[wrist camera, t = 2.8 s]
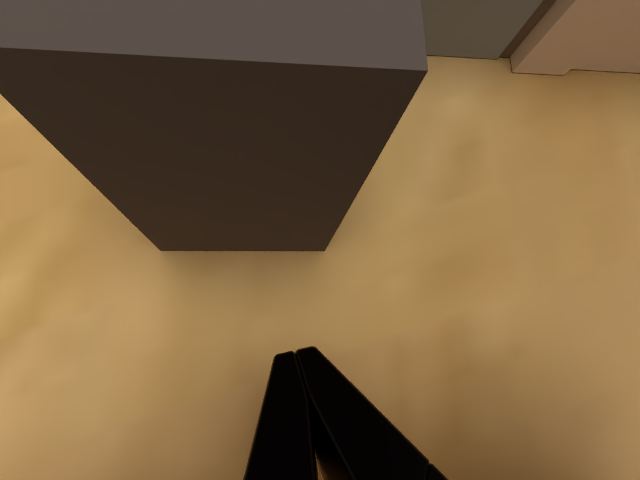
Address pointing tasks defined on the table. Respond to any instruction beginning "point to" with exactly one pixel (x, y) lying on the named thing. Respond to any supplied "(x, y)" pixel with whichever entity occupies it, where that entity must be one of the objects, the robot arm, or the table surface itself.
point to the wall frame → (582, 38)
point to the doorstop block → (217, 107)
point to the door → (479, 26)
